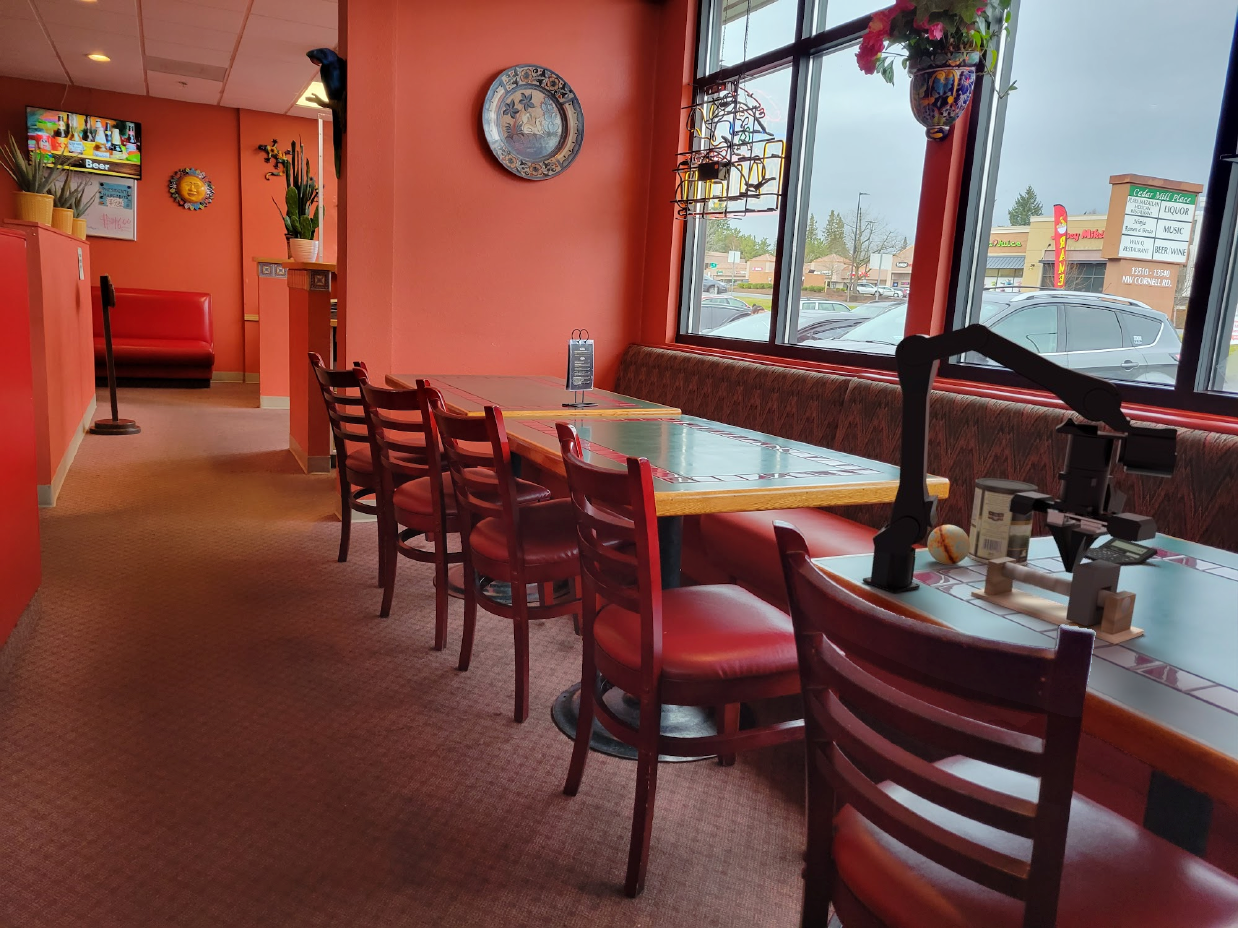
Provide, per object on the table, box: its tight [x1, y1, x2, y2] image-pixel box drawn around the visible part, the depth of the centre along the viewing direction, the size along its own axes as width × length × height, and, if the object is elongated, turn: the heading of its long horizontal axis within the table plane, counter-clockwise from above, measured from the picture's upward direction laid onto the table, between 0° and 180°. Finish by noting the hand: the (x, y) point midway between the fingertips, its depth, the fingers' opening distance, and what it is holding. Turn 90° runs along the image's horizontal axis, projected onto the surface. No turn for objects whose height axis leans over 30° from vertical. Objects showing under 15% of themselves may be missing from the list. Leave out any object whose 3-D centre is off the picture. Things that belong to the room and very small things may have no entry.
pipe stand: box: [970, 557, 1145, 645], centre depth 127 cm, size 22×8×6 cm, turn 34°
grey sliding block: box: [1066, 560, 1122, 626], centre depth 123 cm, size 3×7×8 cm, turn 124°
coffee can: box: [966, 477, 1039, 567], centre depth 156 cm, size 10×10×14 cm
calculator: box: [1083, 537, 1159, 566], centre depth 162 cm, size 9×12×3 cm
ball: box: [926, 524, 970, 566], centre depth 151 cm, size 7×7×7 cm
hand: (1070, 572), depth 125 cm, fingers closed
